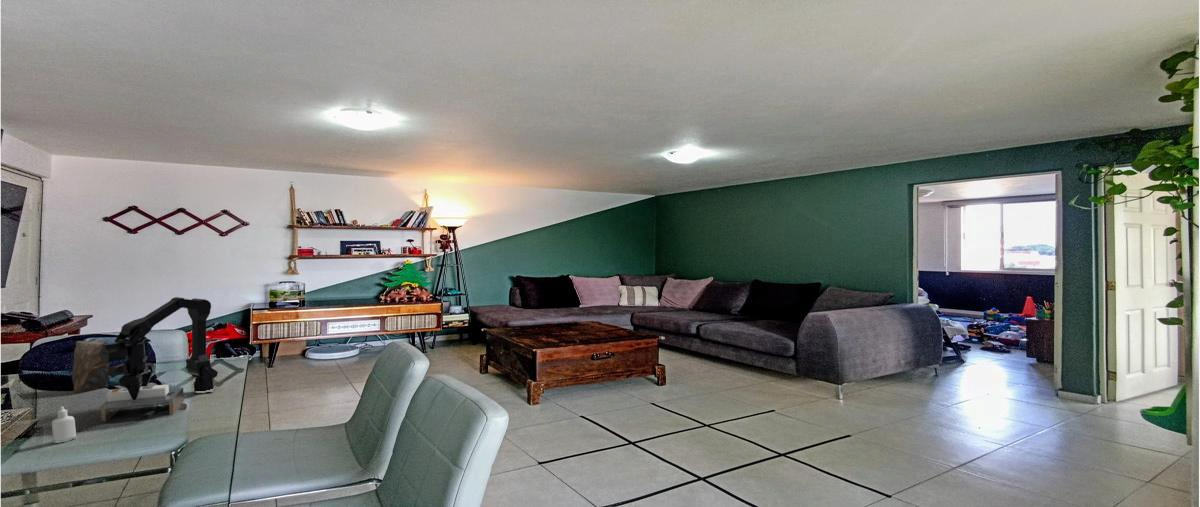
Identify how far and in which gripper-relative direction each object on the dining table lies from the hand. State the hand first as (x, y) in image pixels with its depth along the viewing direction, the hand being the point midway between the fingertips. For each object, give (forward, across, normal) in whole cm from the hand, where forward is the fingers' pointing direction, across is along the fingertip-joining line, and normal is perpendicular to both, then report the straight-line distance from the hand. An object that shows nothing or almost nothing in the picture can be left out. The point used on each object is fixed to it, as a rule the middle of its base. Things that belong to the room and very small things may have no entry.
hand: (138, 395), depth 223 cm
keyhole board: (+6, 0, +2) cm, 7 cm away
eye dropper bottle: (+7, +22, -14) cm, 27 cm away
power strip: (+4, 0, 0) cm, 4 cm away
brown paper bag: (+7, -38, -30) cm, 49 cm away
